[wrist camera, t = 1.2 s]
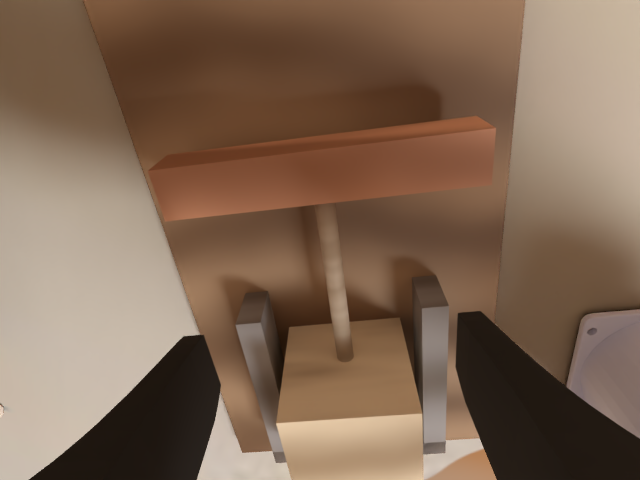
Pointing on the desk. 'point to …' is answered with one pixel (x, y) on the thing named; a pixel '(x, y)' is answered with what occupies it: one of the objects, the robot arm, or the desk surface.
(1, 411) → the gable box
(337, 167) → the block
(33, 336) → the desk surface
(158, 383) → the robot arm
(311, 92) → the lane board
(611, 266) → the desk surface
